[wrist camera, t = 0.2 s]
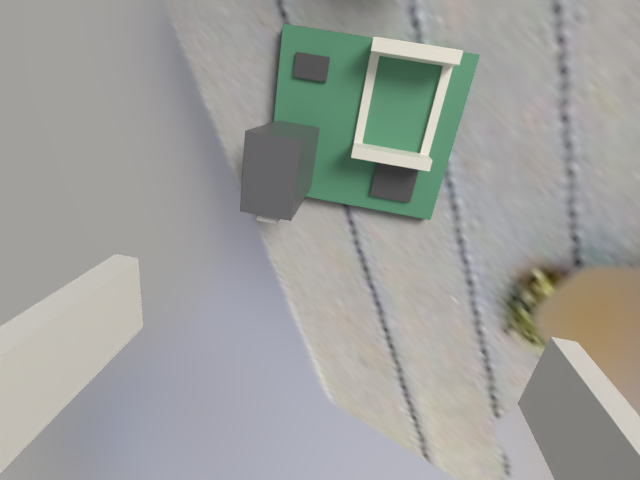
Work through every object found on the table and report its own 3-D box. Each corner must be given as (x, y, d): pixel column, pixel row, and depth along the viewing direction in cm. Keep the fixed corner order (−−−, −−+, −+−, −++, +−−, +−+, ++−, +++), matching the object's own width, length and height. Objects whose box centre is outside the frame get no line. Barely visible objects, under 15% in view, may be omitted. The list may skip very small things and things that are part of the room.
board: (286, 26, 32) (274, 17, 28) (475, 56, 31) (490, 51, 27) (270, 186, 38) (258, 197, 34) (428, 216, 37) (435, 230, 33)
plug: (278, 120, 34) (245, 130, 25) (319, 127, 34) (301, 140, 24) (272, 187, 36) (239, 219, 27) (310, 194, 36) (289, 229, 27)
